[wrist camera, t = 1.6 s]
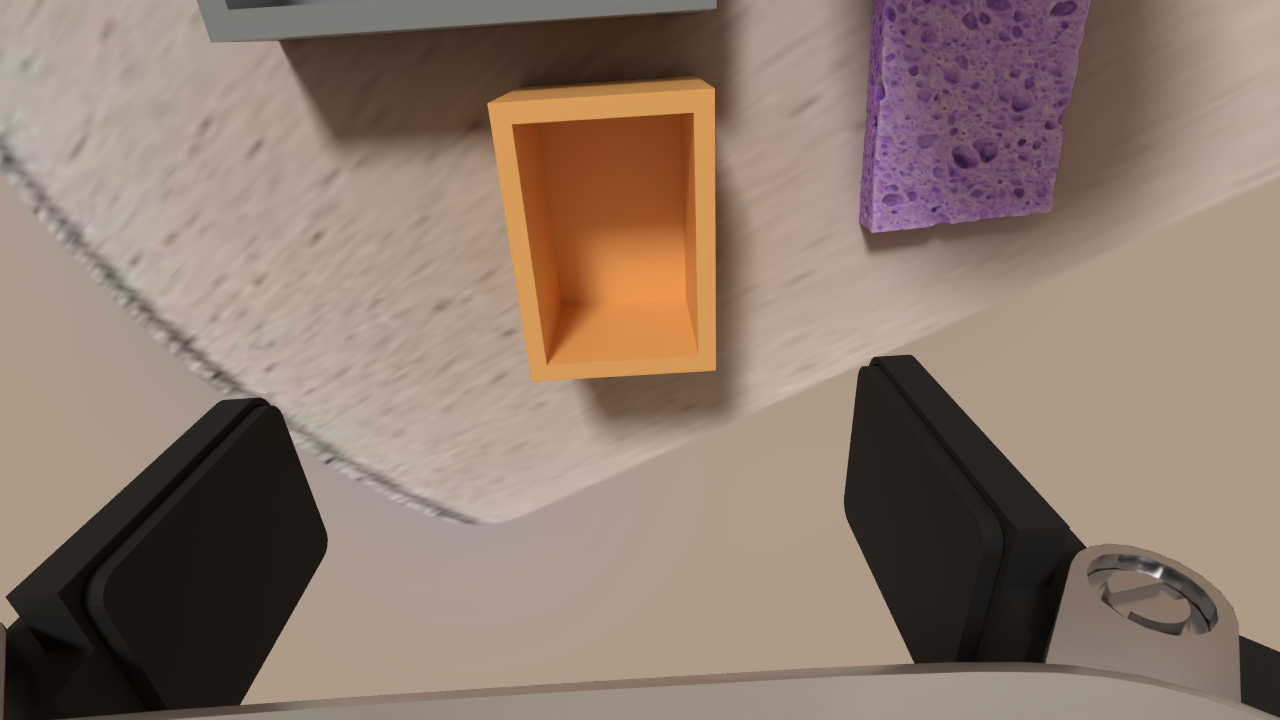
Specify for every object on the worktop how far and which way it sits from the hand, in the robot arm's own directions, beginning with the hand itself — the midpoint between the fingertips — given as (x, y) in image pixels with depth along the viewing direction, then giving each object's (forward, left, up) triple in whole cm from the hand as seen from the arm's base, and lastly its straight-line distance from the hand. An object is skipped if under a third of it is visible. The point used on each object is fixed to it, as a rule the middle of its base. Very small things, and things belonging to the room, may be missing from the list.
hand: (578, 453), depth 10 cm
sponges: (-13, -5, -17) cm, 23 cm away
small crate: (0, 0, -17) cm, 17 cm away
